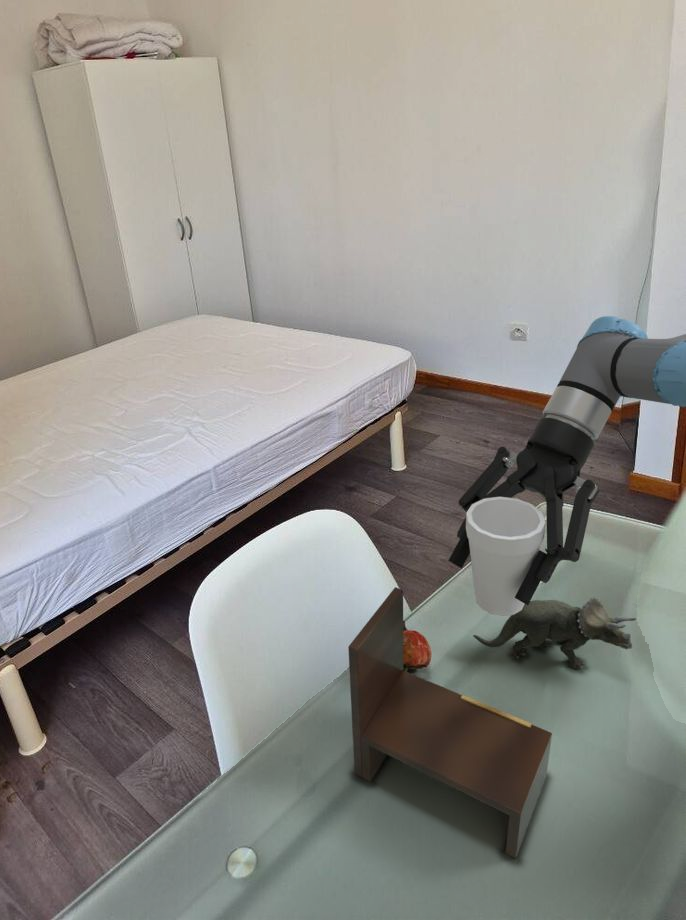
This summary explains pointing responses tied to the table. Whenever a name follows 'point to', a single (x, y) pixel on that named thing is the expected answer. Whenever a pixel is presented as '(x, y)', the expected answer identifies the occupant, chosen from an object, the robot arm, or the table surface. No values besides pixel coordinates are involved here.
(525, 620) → the toy dinosaur
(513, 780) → the shelf
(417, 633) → the pomegranate
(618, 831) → the table surface
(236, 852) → the table surface
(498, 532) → the foam cup
